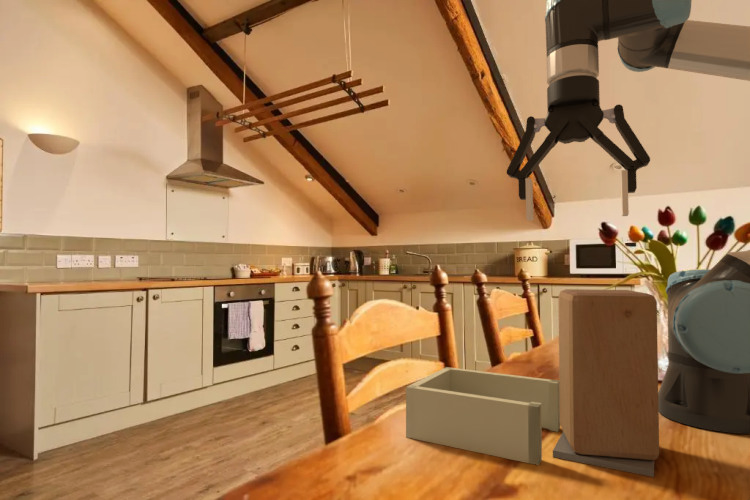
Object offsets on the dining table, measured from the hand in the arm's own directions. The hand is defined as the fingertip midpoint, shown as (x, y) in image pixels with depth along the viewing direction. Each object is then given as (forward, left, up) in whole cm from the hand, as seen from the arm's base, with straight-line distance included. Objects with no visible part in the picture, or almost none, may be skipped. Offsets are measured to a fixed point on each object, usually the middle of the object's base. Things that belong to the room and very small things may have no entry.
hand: (575, 217), depth 73 cm
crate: (+11, +11, -32) cm, 35 cm away
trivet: (-4, +10, -32) cm, 33 cm away
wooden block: (-5, +10, -31) cm, 33 cm away
